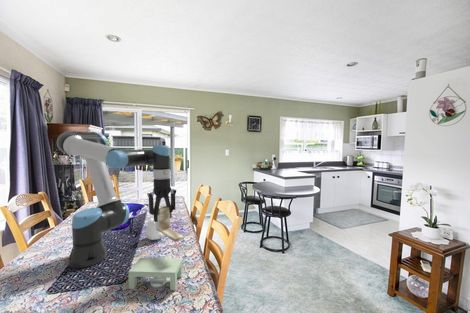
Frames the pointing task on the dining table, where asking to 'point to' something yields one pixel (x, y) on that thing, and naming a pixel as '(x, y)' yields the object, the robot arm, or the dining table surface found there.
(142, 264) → the footstool
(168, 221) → the pusher
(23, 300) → the dining table surface
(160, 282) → the token
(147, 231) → the figurine
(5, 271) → the dining table surface
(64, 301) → the dining table surface
